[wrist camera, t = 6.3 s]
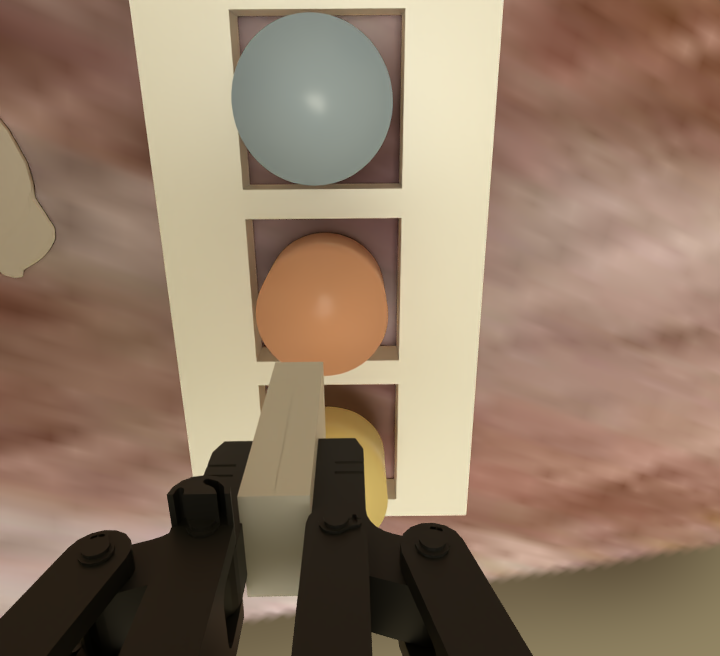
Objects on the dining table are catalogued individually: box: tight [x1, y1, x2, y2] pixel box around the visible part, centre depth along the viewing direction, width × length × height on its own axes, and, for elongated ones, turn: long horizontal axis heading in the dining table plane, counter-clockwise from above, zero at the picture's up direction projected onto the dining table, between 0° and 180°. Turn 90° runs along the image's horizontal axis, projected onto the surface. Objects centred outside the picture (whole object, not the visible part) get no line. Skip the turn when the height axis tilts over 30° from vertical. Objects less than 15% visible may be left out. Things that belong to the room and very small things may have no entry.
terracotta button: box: [256, 233, 388, 376], centre depth 28 cm, size 6×6×4 cm
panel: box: [129, 0, 504, 516], centre depth 30 cm, size 16×28×2 cm, turn 0°
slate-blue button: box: [231, 12, 393, 186], centre depth 23 cm, size 6×6×4 cm
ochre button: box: [325, 407, 388, 527], centre depth 30 cm, size 6×6×4 cm
